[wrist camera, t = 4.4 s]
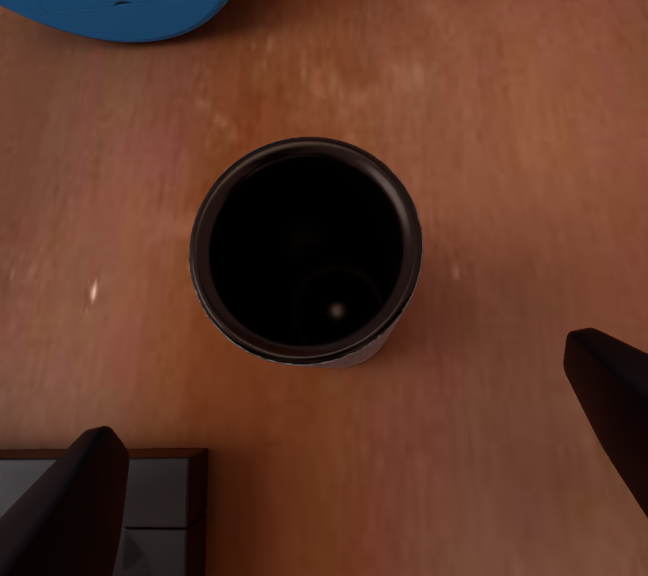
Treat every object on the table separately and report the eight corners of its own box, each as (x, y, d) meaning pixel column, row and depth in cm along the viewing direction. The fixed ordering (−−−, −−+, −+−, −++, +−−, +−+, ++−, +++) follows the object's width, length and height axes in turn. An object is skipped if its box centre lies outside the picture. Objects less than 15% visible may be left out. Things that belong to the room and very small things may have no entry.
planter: (296, 251, 19) (216, 119, 9) (401, 269, 19) (441, 149, 8) (274, 356, 18) (160, 340, 8) (383, 377, 18) (402, 389, 8)
